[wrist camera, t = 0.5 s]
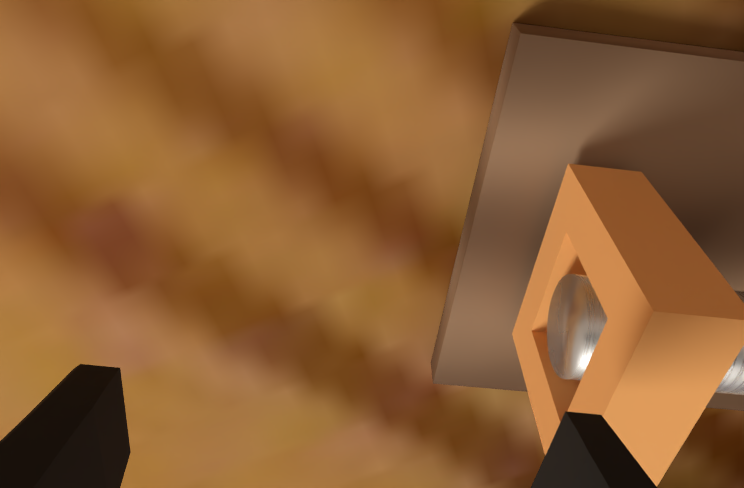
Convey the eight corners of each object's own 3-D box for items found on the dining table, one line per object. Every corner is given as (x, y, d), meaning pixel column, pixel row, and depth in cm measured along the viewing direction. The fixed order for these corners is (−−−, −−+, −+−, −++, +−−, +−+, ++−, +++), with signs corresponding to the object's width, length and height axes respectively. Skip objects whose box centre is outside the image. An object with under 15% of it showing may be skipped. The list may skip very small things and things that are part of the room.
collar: (573, 339, 20) (640, 512, 15) (512, 333, 20) (559, 506, 15) (641, 171, 16) (758, 321, 11) (567, 163, 16) (653, 311, 11)
